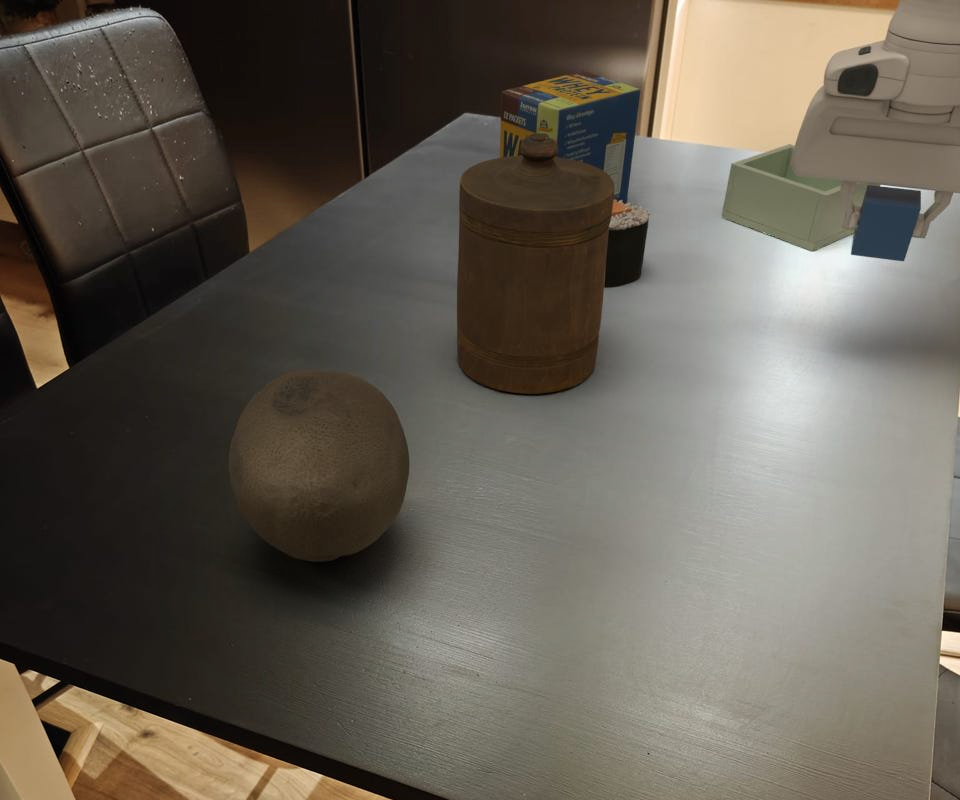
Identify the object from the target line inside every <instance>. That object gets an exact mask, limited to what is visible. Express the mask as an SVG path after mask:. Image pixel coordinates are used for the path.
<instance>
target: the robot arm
mask: <svg viewBox="0 0 960 800" xmlns="http://www.w3.org/2000/svg"><path fill="white" fill-rule="evenodd" d="M794 145H795V147H794V151H793V154H792V159H791V163H790V165H791V167H792V169H793V171H794V173H795V174H796V175H797V176H803V177H813V178H822V179H831V180H840V181H842V183H841V188H840V195H841V198H842V202H843V205H844V208H845V211H846V213H845V217H844V221H843V225H842V229H850V230H857V227H858V223H859V220H860V216H861V212H862V207H859V206H854V202H853V198H852V195H851V193H855V190H856V186H857V183H858V182H859V183H868V184H877V185H880V186H886V187H895V188H904V189H906V188H907V189H913V190H926V191H933V192H934V194H933V197H934V199H933V201H934V202H933V203H932V204H931V205H930V206H929V207H928V208H927V209H926V210H925V211H924V212H923V213H921V212H920V213H919V216H918V220H917V223H916V226H915V229H914V232H913V235H912V238H916V239H923V240H924V239H926V237H927V235H928V231H929V229H930V225H931V223H932V222H933V221H935V220H936V218H937V217H939V216H940V215H941V214H942V213H943V211H944V210H946V209H947V207H949V205H950V204H951V200H952V198H953V194H960V0H899V2H898V5H897V7H896V9H895V10H894V13H893V14H892V17H891V19H890V21H889V24H888V27H887V31H886V34H885V38H884V39H882V40H878V41H875V42H872V43H868V44H864V45H860V46H854V47H851V48H847V49H844V50H840V51H837V52H836V53H834V54H833V55H832V56H831V57H830V58H829V60H828V62H827V64H826V67H825V70H824V75H823V85H822V86H820V87H819V88H818V89H817V90H816V92H815V93H814V95H813V97H812V98H811V100H810V102H809V105H808V107H807V109H806V112H805V114H804V116H803V120H802V122H801V126H800V128H799V131H798V133H797V137H796V140H795V144H794Z"/></svg>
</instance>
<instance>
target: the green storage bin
mask: <svg viewBox="0 0 960 800" xmlns="http://www.w3.org/2000/svg"><path fill="white" fill-rule="evenodd" d="M794 147H795V144H791V143H788V144H786V145H783V146H779V147H776V148H774V149H771V150H768V151H765V152H762V153H759V154H755V155H753V156H750V157H746V158H744V159H741V160H738V161H734V162H732V163H731V164H730V168H729V169H730V170H729V174H728V179H727V185H726V189H725V196H724V199H723V200H724V202H723V206H722V211H721V216H722V217H724V218H726V219H725V220H727V219H728V220H727V221H730V220H731V221H730V222H732V221H734V222H733V223H735V222H736V223H735V224H738V223H739V224H738V225H740V224H741V226H743V225H745V226H744V227H746V226H747V227H746V228H748V227H751V228H754V229H756V230H759V231H762V232H765V233H767V234H770V235H772V236H771V237H773V236H775V237H777V238H776V239H778V238H780V239H779V240H781V239H782V240H781V241H783V240H785V241H784V242H786V241H788V242H787V243H789V242H790V243H789V244H791V243H792V244H791V245H794V246H797V247H800V248H802V249H804V250H807V251H810V252H814V251H817V250H819V249H821V248H824V247H826V246H829V245H831V244H832V243H835V242H838V241H840V240H842V239H844V238H846V237H849V236H851V235H854V232H855V230H850V229H842V225H843V221H844V217H845V213H846V211H845V208H844V205H843V202H842V198H841V195H840V188H841V183H842V181H840V180H831V179H822V178H813V177H803V176H797V175H796V174H795V173H794V171H793V169H792V167H791V165H790V163H791V159H792V154H793V151H794ZM867 185H873V186H881V185H877V184H868V183H859V182H858V183H857V186H856V190H855V193H851V195H852V198H853V202H854V206H859V207H861V206H862V203H863V199H864V196H865V192H866V188H867ZM722 217H721V218H722ZM724 218H723V219H724ZM751 228H750V229H751ZM754 229H753V230H754ZM756 230H755V231H756ZM759 231H758V232H759ZM762 232H761V233H762ZM765 233H764V234H765ZM767 234H766V235H767ZM770 235H769V236H770ZM775 237H774V238H775Z"/></svg>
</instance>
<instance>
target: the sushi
mask: <svg viewBox="0 0 960 800" xmlns="http://www.w3.org/2000/svg"><path fill="white" fill-rule="evenodd" d="M631 204H632V203H631V202H627V203H626V204H624V203H623V201H622V200H620V201H618V202H617V200H615V199H614V200H613V209H612V216H611V221H610V224H609V234H608V245H607V257H606V268H605V281H604V288H605V287H606V288H611V287H612V288H613V287H618V286H622V285H626V284H629V283H631V282H633V281H636V280H638V279H639V278H640V277H641V276H642V271H643V264H644V257H645V249H646V243H647V235H648V228H649V220H650V216H651V212H650V211H649V210H648V209H643V206H642V205H640V206H638V205H631Z"/></svg>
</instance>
